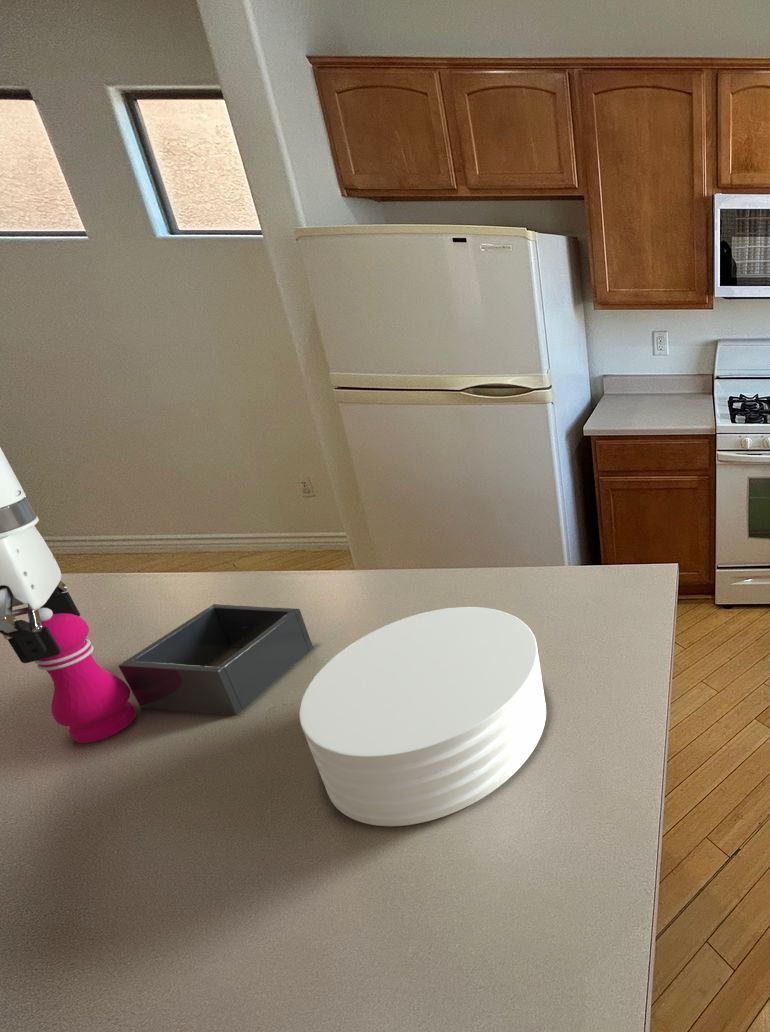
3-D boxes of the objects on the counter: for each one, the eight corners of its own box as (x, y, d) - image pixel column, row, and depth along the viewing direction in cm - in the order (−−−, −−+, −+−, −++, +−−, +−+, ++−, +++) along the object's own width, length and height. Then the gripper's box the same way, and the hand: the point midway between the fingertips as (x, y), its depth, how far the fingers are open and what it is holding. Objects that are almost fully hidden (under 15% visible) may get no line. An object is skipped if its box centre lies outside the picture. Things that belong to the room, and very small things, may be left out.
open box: (140, 708, 81) (117, 665, 78) (230, 642, 95) (214, 603, 92) (236, 714, 80) (217, 672, 77) (313, 647, 94) (299, 608, 91)
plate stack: (273, 779, 71) (244, 712, 66) (446, 647, 95) (433, 591, 90) (438, 863, 61) (417, 791, 57) (584, 692, 85) (577, 632, 81)
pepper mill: (64, 756, 74) (-13, 634, 65) (73, 723, 78) (1, 606, 70) (140, 728, 78) (75, 611, 70) (143, 699, 83) (83, 586, 75)
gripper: (-34, 501, 69) (33, 615, 76) (-105, 560, 57) (-17, 690, 63) (54, 488, 73) (109, 597, 80) (5, 540, 61) (77, 665, 68)
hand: (53, 638), depth 72 cm, fingers open, 8 cm apart
